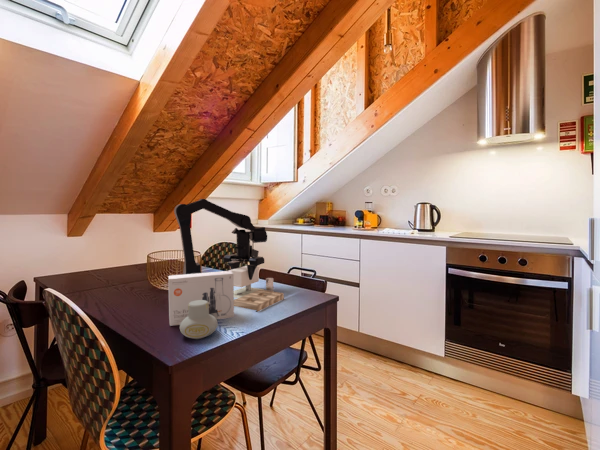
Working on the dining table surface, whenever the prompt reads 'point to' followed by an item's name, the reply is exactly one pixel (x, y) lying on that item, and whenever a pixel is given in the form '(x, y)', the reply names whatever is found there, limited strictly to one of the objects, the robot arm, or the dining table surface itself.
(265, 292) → the hole board
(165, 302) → the dining table surface
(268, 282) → the pin
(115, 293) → the dining table surface
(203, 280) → the skincare box
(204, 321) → the air freshener
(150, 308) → the dining table surface
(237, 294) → the plate
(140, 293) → the dining table surface
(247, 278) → the white rectangular block
